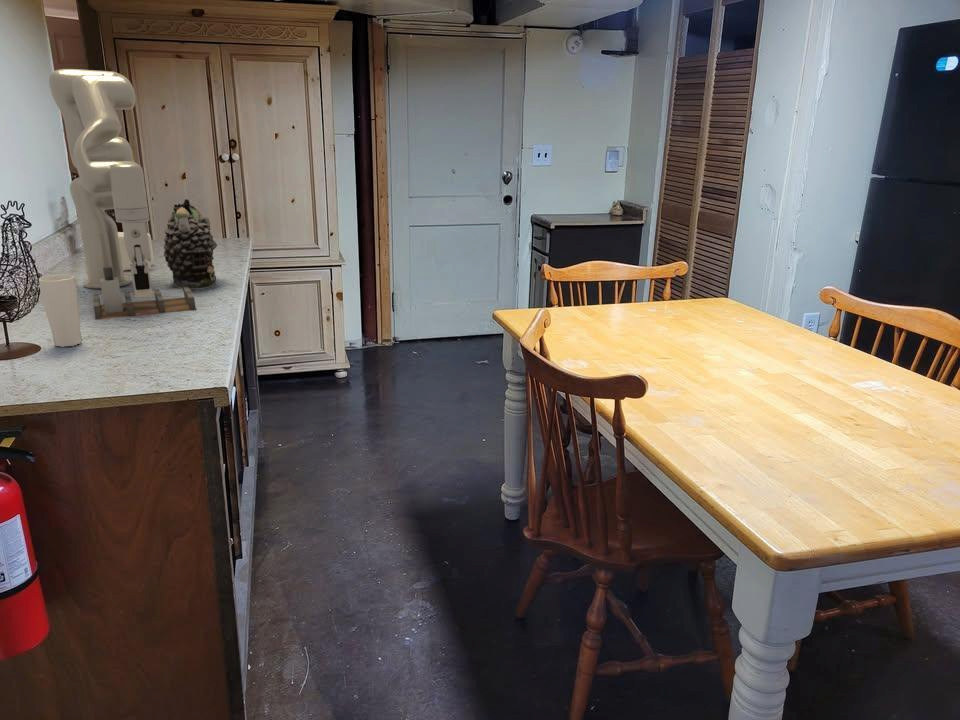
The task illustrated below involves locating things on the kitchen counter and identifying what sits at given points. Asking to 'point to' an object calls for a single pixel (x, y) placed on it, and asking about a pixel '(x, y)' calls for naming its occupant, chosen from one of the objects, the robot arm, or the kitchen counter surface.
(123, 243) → the cable organizer
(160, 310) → the wooden divided tray
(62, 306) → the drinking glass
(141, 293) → the cream plug
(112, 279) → the grey plug
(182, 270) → the decorative house
